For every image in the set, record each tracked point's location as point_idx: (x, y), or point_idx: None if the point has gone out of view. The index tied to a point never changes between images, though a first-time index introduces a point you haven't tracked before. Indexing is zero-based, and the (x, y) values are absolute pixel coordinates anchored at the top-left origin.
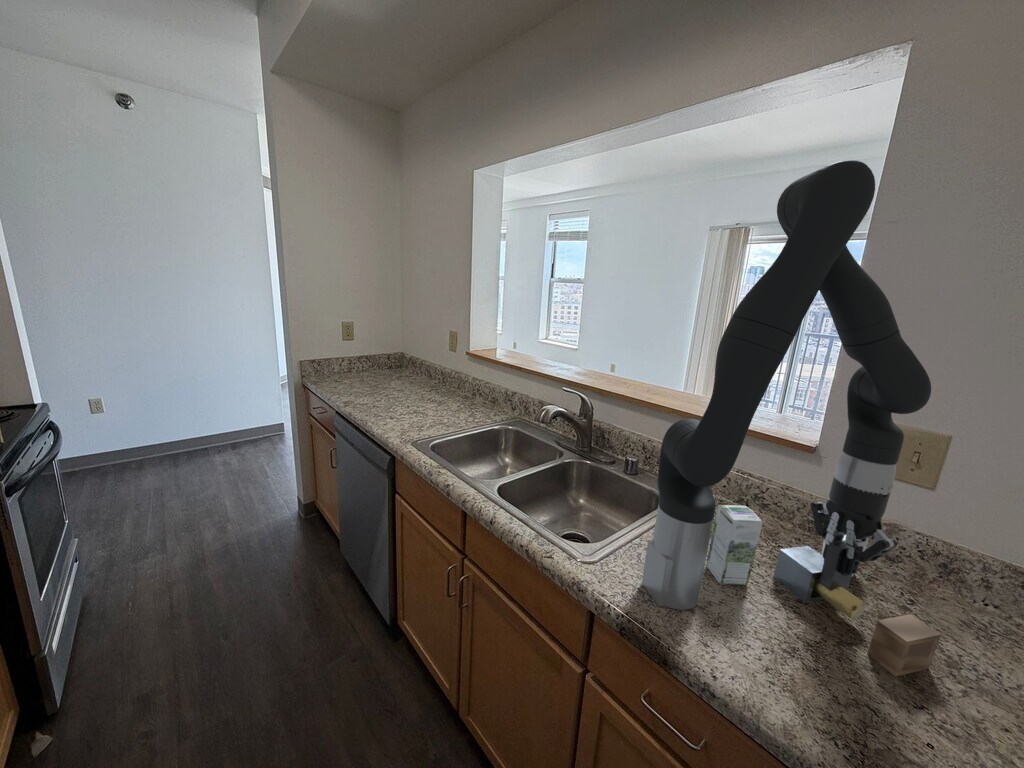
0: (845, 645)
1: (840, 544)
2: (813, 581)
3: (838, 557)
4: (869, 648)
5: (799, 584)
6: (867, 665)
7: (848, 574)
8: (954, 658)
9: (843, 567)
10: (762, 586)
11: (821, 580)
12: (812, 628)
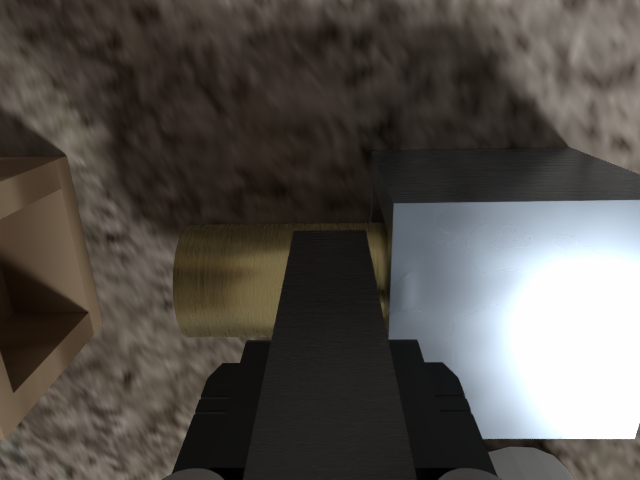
0: (112, 99)
1: None
2: (384, 209)
3: (263, 395)
4: (49, 163)
5: (435, 165)
6: (7, 92)
7: (220, 365)
8: (57, 446)
9: (252, 377)
10: (534, 7)
11: (353, 239)
12: (217, 25)
